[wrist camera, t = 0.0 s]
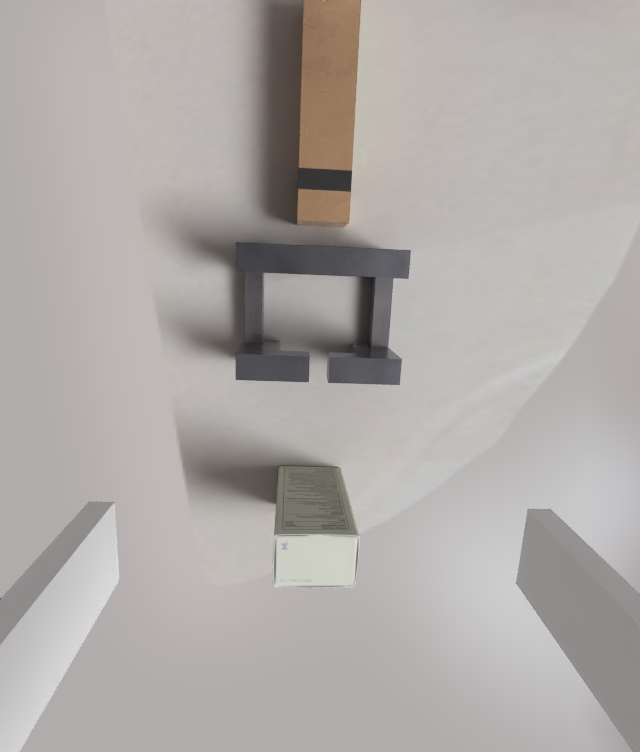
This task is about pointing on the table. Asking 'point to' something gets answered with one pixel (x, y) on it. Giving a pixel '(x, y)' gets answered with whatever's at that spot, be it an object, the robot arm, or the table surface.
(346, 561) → the skincare box
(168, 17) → the table surface
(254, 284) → the grey open frame bracket
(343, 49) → the block
